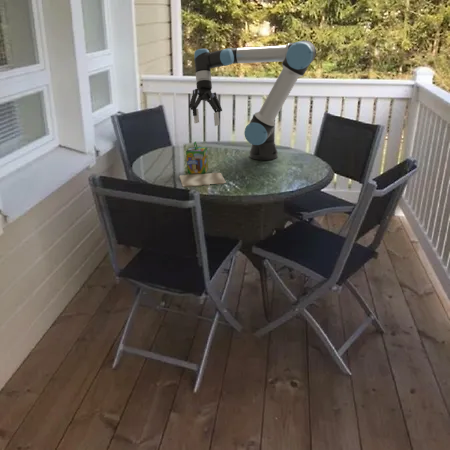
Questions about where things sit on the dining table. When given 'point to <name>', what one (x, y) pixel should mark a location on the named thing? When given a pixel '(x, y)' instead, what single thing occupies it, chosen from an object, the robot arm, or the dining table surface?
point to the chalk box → (197, 160)
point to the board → (202, 179)
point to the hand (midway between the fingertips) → (207, 124)
